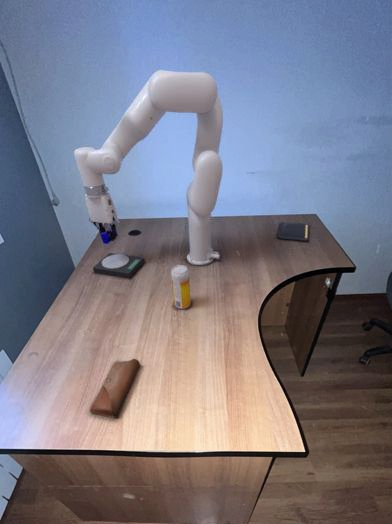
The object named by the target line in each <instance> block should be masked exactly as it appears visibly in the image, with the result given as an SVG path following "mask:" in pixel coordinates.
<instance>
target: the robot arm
mask: <svg viewBox="0 0 392 524" xmlns="http://www.w3.org/2000/svg"><path fill="white" fill-rule="evenodd" d="M166 113H181V114H183V113H184V114H185V113H187V114H196V119H197V120H196V121H197V122H196V124H197V126H196V127H197V128H196V135H195V142H194V149H193V154H192V159H191V166H192V169H193V172H194V175H193V180H192V181H191V182H190V183H189V184H188V186H187V188H186V194H185V197H186V210H187V223H188V239H189V240H188V241H189V253H188V254H187V255H186V260H187V262H188V263H189V264H191V265H195V266H205V265H209V264H211V263H212V262H213V261H214V260H215V259H217V260H220V257H221V255H220V253H219V251H214V250H213V247H212V212H214V210H215V207H216V205H217V201H218V196H219V192H220V187H221V181H222V177H223V169H224V167H223V160H222V159H221V156H220V154H219V152H220V146H221V139H222V132H223V125H224V124H223V123H224V114H223V113H224V111H223V106H222V103H221V98H220V96H219V93H218V85H217V83H216V81H215V78H214V77H213V76H212V75H211V74H209V73H208V72H203V71H196V72H190V71H172V70H166V69H158V70H156V71H155V72H154V73H152V75H151V76H150V78H149V79H148V80H147V81H146V82H145V84H144V85H143V87H142V88H141V90H140V91H139V93H138V94H137V95H136V97H135V98H134V100H133V101H132V103H131V104H130V105H129V106H128V107H127V109H126V111H125V112H124V114H122V117H121V119H120V121H119V122H118V123H117V125H116V126H115V128H114V129H113V130H112V132H111V133H110V134H109V136H108V137H107V139H106V140H105V142H104V143H103V144H102V145H101V148H99V149H95V148H94V147H91V146H84V147H83V146H82V147H79V148H76V149H74V151H73V155H74V159H75V162H76V163H75V164H76V165H77V169H78V173H79V177H80V179H81V183H82V186H83V189H84V192H85V194H84V198H85V203H86V204H85V205H86V208H87V213H88V221H89V223H91V224H93V226H94V227H96V229H97V230H98V231H99V234H100V235H99V236H100V238H101V239H102V237H101V233H102V232H106V231H107V230H106V227H105V226H104V224H106V226H107V228H108V229H109V230H110V231H109V235H110V239H111V242H113V241H115V240H116V239H117V237H116V234H115V230H114V229H115V228H116V227H118V226H119V225H120V224H121V221H120V220H119V219H118V213H117V210H116V207H115V203H114V201H113V199H112V196H111V194H110V192H109V191H110V190H109V187H108V186H106V183H105V179H104V176H103V175H116V174H117V173H119V171H120V170H121V168H122V163H123V161H124V159H125V158H126V157H127V156H128V154H129V153H130V152H131V151H132V150H133V148H134V147H135V146H136V145H137V144H138V143H139V142H141V141H143V140H145V139H146V138H147V137H148V136H149V135H150V133H151V132H152V130H153V129H154V128H155V127H156V125H157V124H159V122H160V121H161V120H162V118H163V117H164V115H166ZM116 229H117V228H116Z"/></svg>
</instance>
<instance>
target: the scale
mask: <svg viewBox="0 0 392 524" xmlns="http://www.w3.org/2000/svg"><path fill="white" fill-rule="evenodd" d="M145 263H146V262H145V258H144V257H142V256H135V255H128V254H122V253H121V254H119V253H113V252H108V253H107V254H106V255H105V256H104V257H103V258H102V259H100V260H99V262H98V263H96V264H95V265H94V266H93V267H92V270H93V273H95V274H99V275H105V276H112V277H117V278H118V277H119V278H122V279H123V278H124V279H132V277H134V275H135V274H136V273H137V272H138V271H139V270H140V268H141V267H143V265H144V264H145Z"/></svg>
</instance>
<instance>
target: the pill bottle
mask: <svg viewBox="0 0 392 524" xmlns="http://www.w3.org/2000/svg"><path fill="white" fill-rule="evenodd" d="M170 278H171V286H172V294H173V295H172V296H173V303H174V306H175V307H176V308H177V309H179V310H186V309H188V308H189V307H190V305H191V287H190V272H189V269H188V267H187V266H186V265H183V264H178V265H174V266H172V268H171V271H170Z"/></svg>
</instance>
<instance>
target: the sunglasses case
mask: <svg viewBox="0 0 392 524" xmlns="http://www.w3.org/2000/svg"><path fill="white" fill-rule="evenodd" d="M139 367H140V361H139V360H138V359H137V358H132V359H130V360H126V361H121V362H115V363H113V365H112V367H111V369H110V370H109V373H108V374H107V376H106V378H105V379H104V382H103V384H102V386H101V387H100V389H99V391H98V393H97V394H96V396H95V399H94V400H93V402H92V403H91V406H90V407H89V412H90V413H91V414H94V415H97V416H102V417H106V418H111V419H115V418H117V417H118V416H119V414H120V412H121V409H122V407H123V404H124V401H125V399H126V397H127V394H128V393H129V390H130V387H131V385H132V383H133V381H134V379H135V376H136V373H137V371H138V370H139Z"/></svg>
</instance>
